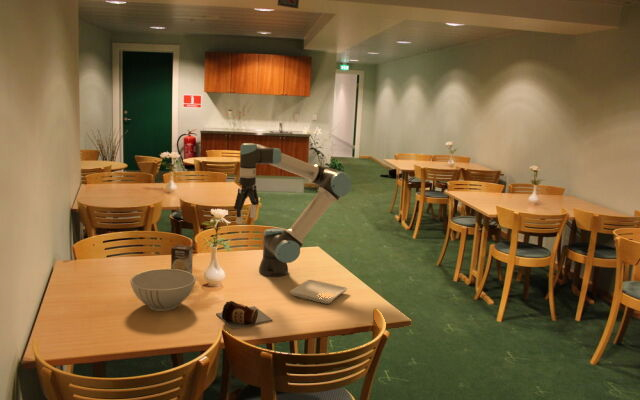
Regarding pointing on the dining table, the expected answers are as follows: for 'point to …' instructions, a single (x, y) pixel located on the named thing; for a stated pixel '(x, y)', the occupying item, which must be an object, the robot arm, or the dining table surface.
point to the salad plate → (317, 291)
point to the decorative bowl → (162, 287)
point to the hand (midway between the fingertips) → (246, 220)
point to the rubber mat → (260, 319)
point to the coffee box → (182, 258)
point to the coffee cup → (239, 313)
